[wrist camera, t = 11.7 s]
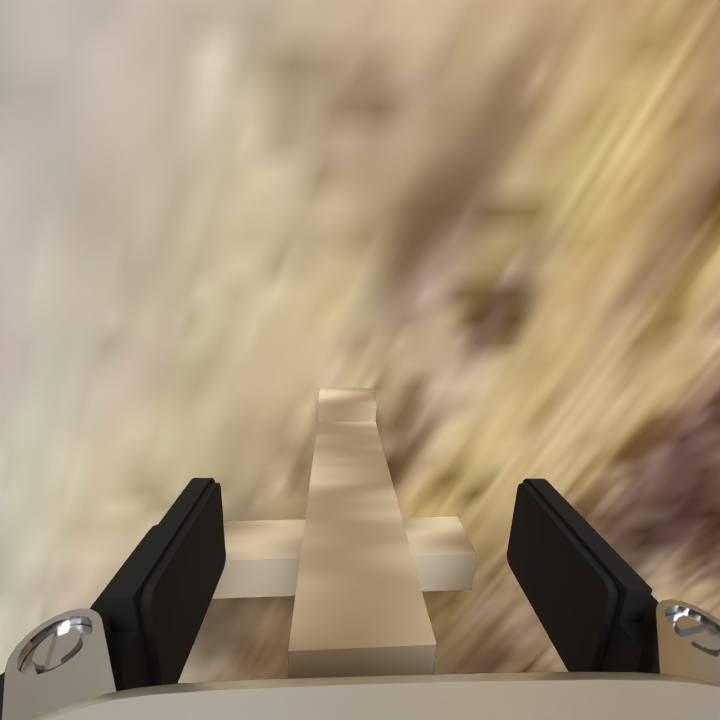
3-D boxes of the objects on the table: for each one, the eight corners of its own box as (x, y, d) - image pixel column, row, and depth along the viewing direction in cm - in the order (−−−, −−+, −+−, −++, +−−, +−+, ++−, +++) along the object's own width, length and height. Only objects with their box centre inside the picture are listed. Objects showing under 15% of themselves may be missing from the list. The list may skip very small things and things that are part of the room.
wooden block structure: (471, 389, 16) (719, 594, 6) (453, 549, 19) (613, 917, 8) (213, 387, 16) (-51, 622, 5) (224, 554, 18) (56, 975, 7)
